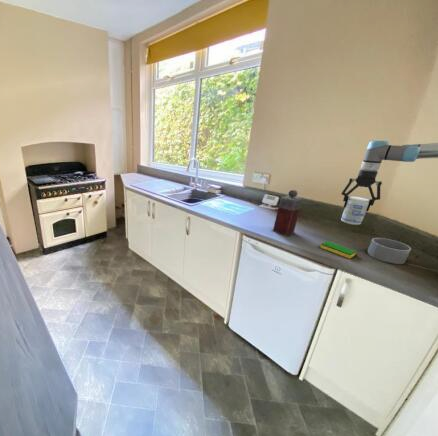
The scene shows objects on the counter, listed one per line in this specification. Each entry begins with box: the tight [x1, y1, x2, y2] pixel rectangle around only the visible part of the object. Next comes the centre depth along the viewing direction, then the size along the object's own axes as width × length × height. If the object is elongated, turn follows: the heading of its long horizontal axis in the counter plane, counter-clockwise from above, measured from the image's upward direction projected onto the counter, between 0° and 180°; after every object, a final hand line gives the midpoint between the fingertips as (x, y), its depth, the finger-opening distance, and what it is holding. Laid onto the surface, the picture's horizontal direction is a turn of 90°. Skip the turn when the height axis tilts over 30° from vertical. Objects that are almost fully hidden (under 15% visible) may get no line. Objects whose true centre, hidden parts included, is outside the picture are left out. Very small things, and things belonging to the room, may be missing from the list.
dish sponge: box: [320, 240, 357, 259], centre depth 128 cm, size 7×14×2 cm, turn 32°
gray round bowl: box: [367, 237, 412, 265], centre depth 122 cm, size 15×15×8 cm
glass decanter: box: [272, 189, 304, 237], centre depth 147 cm, size 9×11×28 cm
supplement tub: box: [340, 196, 370, 226], centre depth 137 cm, size 10×10×15 cm
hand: (355, 208), depth 137 cm, fingers closed on supplement tub, 9 cm apart
